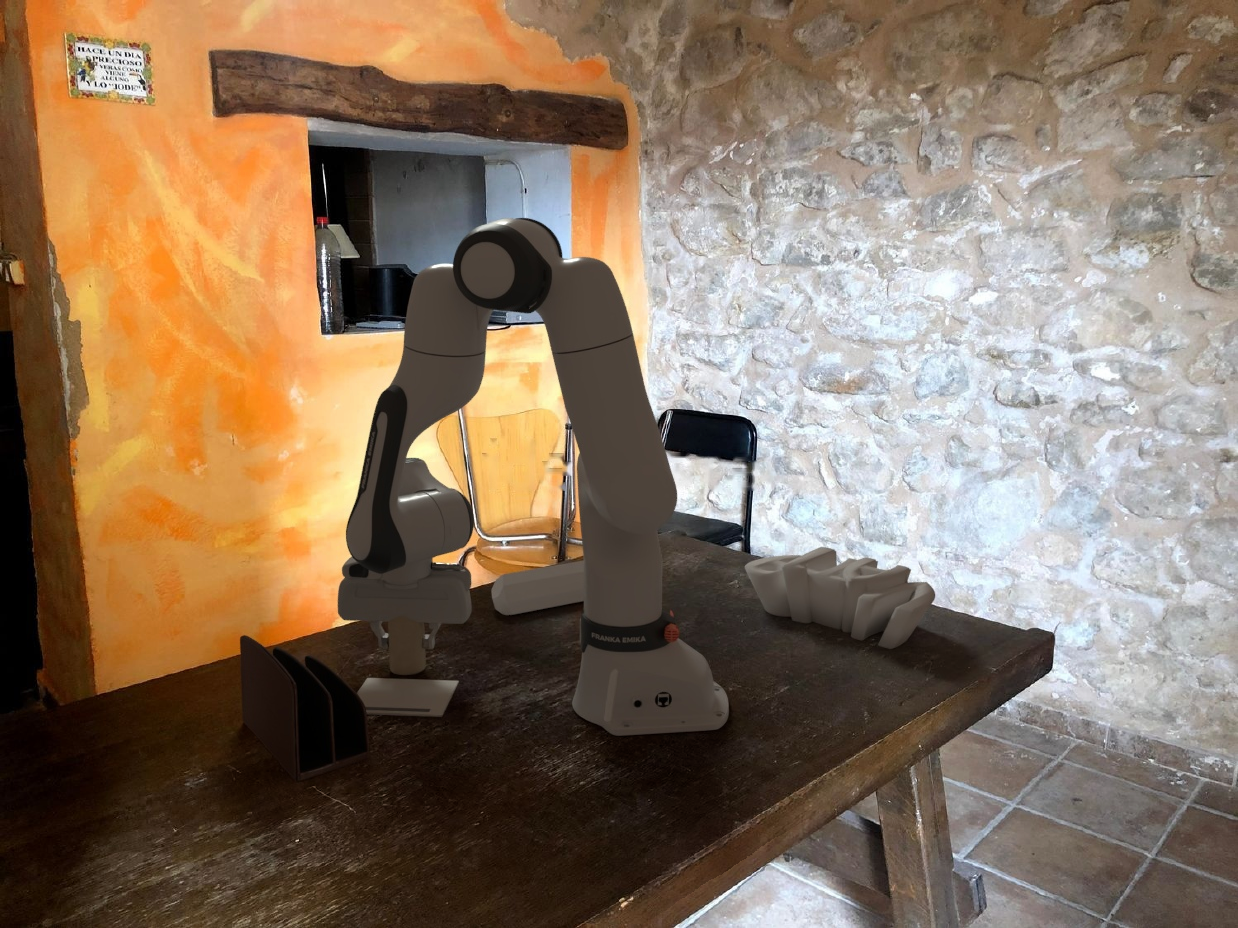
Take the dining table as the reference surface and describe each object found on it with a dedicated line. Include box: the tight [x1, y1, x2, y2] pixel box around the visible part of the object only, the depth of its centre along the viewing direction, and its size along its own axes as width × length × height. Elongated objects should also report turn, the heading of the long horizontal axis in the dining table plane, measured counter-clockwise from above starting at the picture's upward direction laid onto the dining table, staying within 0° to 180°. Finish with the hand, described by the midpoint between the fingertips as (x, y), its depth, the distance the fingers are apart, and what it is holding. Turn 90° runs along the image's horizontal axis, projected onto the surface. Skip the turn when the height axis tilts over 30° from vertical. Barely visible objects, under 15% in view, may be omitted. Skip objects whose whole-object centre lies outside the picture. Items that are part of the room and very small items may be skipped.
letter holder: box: [239, 634, 371, 783], centre depth 130 cm, size 10×20×14 cm, turn 39°
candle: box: [387, 616, 427, 676], centre depth 153 cm, size 6×6×10 cm
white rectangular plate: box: [356, 677, 460, 718], centre depth 144 cm, size 14×11×1 cm
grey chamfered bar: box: [490, 560, 584, 616], centre depth 183 cm, size 7×7×24 cm
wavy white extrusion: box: [744, 546, 936, 650], centre depth 173 cm, size 35×16×10 cm, turn 45°
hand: (406, 646), depth 153 cm, fingers closed on candle, 5 cm apart
